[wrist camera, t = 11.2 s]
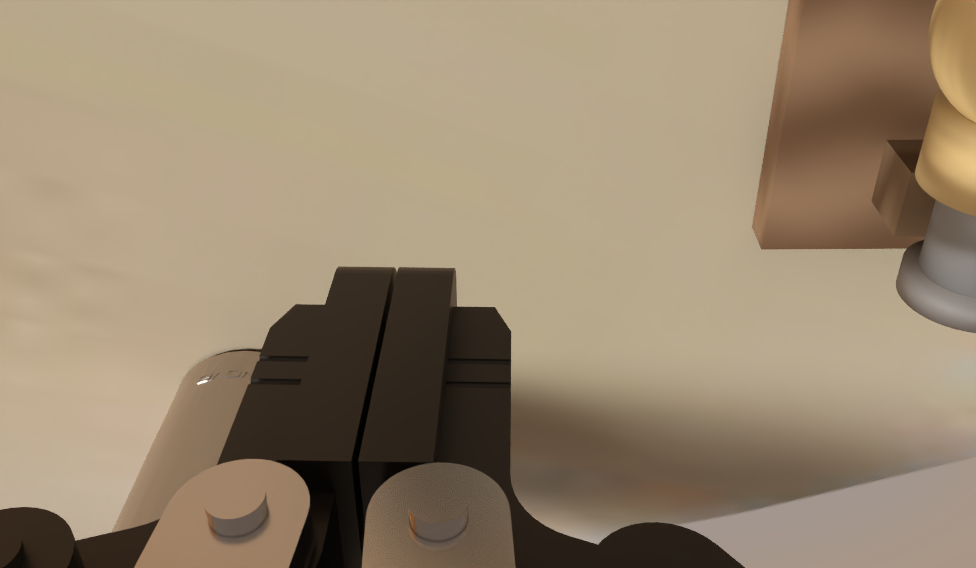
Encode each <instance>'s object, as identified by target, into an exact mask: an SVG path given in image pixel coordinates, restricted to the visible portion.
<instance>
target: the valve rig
mask: <svg viewBox="0 0 976 568" xmlns="http://www.w3.org/2000/svg"><path fill="white" fill-rule="evenodd" d="M752 227H753V230H754V232H755V235H756V237H757V240H758V242H759V245H760V247H761V249H885V248H907V249H906V251H905V252H904V255H903V258H902V262H901V265H900V269H899V273H898V276H897V280H896V288H897V291H898V293H899V295H900V297H901V298H902V300H903V301H904V302H905V303H906V304H907V305H908V306H909V307H910V308H912V309H913V310H914V311H916V312H917V313H919V314H920V315H922V316H924V317H926V318H927V319H930V320H932V321H934V322H936V323H939V324H941V325H944V326H947V327H950V328H953V329H957V330H962V331H967V332H973V333H976V0H789V4H788V10H787V17H786V23H785V29H784V35H783V41H782V47H781V54H780V60H779V66H778V72H777V78H776V84H775V91H774V97H773V103H772V109H771V115H770V121H769V128H768V134H767V140H766V146H765V152H764V158H763V165H762V171H761V177H760V183H759V189H758V195H757V201H756V208H755V214H754V220H753V226H752Z"/></svg>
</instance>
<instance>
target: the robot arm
mask: <svg viewBox="0 0 976 568" xmlns="http://www.w3.org/2000/svg"><path fill="white" fill-rule="evenodd" d="M510 418H511V331H510V329H509V328H508V326H507V325H506V323H505V322H504V320H503V319H502V317H501V316H500V314H499V313H498V311H497V310H496V308H495V307H457V292H456V271H455V268H409V267H399V268H398V271H397V272H396V269H395V268H394V267H338V268H337V269H336V272H335V275H334V278H333V281H332V284H331V288H330V291H329V294H328V297H327V300H326V303H325V305H301V304H296V305H295V306H294V307H292V308H291V309H290V310H289V311H288V312H287V313H286V314H285V315H284V316H283V317H282V318H280V319H279V320H278V321H277V322H276V323H275V324H274V325H273V326H272V327H271V328H270V330H269V332H268V335H267V337H266V340H265V342H264V345H263V348H262V350H261V352H254V351H237V352H227V353H223V354H220V355H216V356H212V357H210V358H208V359H206V360H204V361H203V362H201V363H199V364H197V365H196V366H195V367H194V368H193V369H192V370H191V371H189V372H188V374H187V375H186V377H185V378H184V380H183V381H182V383H181V385H180V387H179V389H178V391H177V393H176V395H175V398H174V400H173V402H172V404H171V406H170V408H169V410H168V413H167V415H166V417H165V419H164V421H163V423H162V425H161V428H160V430H159V431H158V433H157V435H156V438H155V440H154V442H153V444H152V446H151V448H150V451H149V453H148V455H147V457H146V459H145V461H144V464H143V466H142V468H141V470H140V472H139V474H138V477H137V479H136V481H135V483H134V485H133V487H132V490H131V492H130V494H129V496H128V498H127V500H126V503H125V505H124V507H123V509H122V511H121V513H120V515H119V518H118V520H117V522H116V524H115V526H114V528H113V531H112V533H108V534H103V535H99V536H95V537H90V538H86V539H82V540H77V541H75V538H74V536H73V533H72V531H71V528H70V526H69V525H68V524H67V523H66V521H65V520H64V519H63V518H61V517H60V516H58V515H57V514H55V513H52V512H50V511H48V510H44V509H39V508H30V507H19V508H9V509H3V510H0V568H745V567H743V566H742V565H741V564H740V563H739V562H737V561H736V560H735V559H734V558H732V557H731V556H730V555H729V554H727V553H726V552H725V551H724V550H723V549H721V548H720V547H719V546H718V545H716V544H715V543H713V542H712V541H711V540H709V539H708V538H706V537H705V536H703V535H701V534H699V533H697V532H695V531H692V530H690V529H687V528H684V527H681V526H677V525H673V524H667V523H658V522H655V523H640V524H633V525H630V526H627V527H624V528H621V529H619V530H617V531H615V532H613V533H611V534H610V535H608V536H607V537H606V538H605V539H603V540H602V541H601V542H600V543H599V545H597V544H594V543H590V542H587V541H583V540H580V539H577V538H573V537H570V536H567V535H564V534H562V533H559V532H556V531H554V530H552V529H550V528H548V527H546V526H545V525H543V524H542V523H540V522H539V521H537V520H536V519H534V518H533V517H532V516H531V515H530V514H529V513H528V512H527V511H526V510H525V509H524V508H523V506H522V505H521V504H520V503H519V501H518V499H517V497H516V496H515V494H514V491H513V488H512V485H511V478H510Z"/></svg>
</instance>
